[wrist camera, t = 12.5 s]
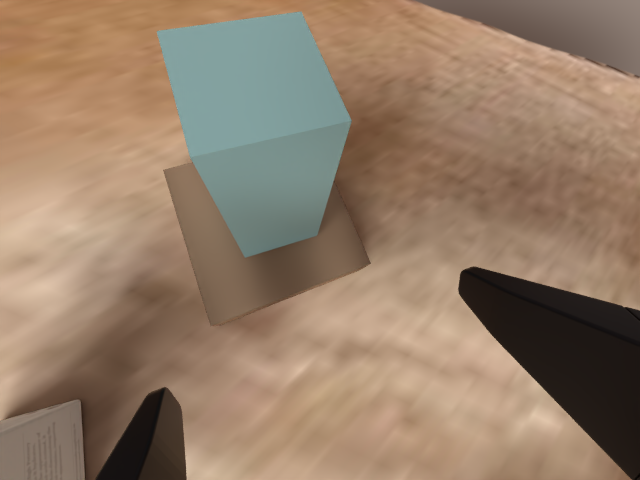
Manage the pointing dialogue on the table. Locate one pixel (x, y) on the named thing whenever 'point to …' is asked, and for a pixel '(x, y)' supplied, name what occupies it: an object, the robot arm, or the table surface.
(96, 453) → the table surface
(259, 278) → the walnut block
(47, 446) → the skincare box
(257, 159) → the teal block
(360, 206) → the table surface
